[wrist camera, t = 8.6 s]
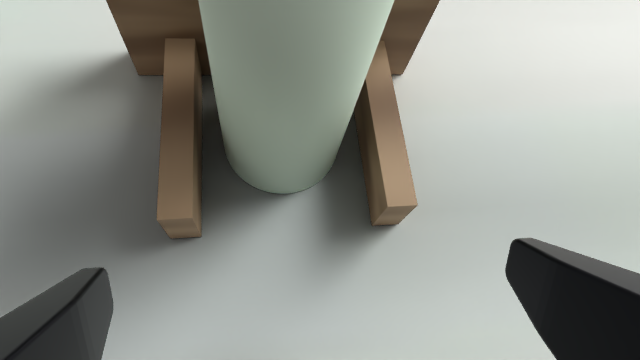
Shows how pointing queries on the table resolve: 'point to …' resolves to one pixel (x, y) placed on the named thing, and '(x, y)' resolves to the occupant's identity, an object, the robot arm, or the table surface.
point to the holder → (192, 62)
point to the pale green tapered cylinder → (288, 82)
